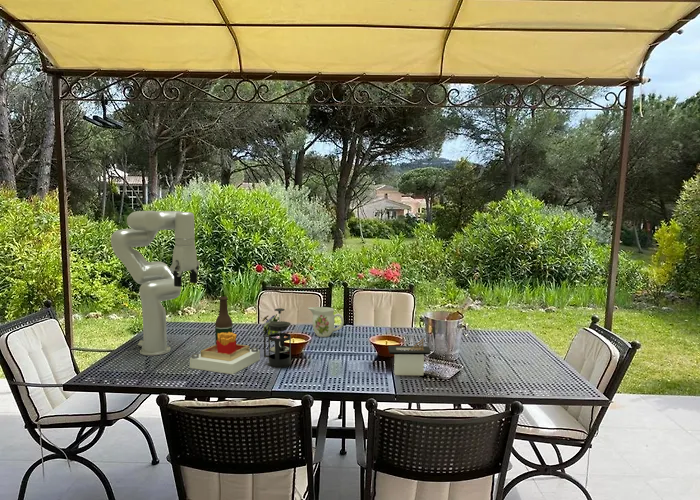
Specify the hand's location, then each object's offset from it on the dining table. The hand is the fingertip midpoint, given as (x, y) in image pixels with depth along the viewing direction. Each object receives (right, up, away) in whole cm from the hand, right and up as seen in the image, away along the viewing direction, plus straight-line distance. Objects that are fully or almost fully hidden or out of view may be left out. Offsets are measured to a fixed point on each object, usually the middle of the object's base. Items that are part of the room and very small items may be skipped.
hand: (185, 284), depth 213 cm
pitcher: (+55, -29, +47) cm, 77 cm away
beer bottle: (+11, -31, +20) cm, 38 cm away
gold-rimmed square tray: (+16, -32, +1) cm, 36 cm away
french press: (+38, -33, +1) cm, 50 cm away
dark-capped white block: (+90, -35, -9) cm, 97 cm away
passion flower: (+28, -28, +50) cm, 64 cm away
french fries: (+16, -32, +2) cm, 36 cm away
